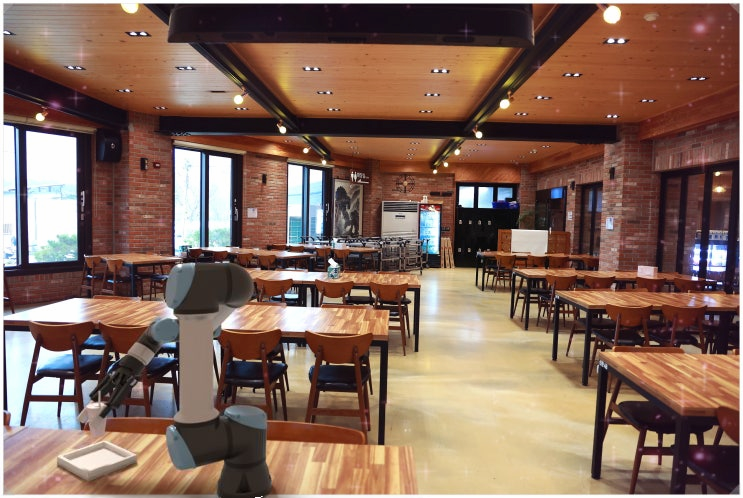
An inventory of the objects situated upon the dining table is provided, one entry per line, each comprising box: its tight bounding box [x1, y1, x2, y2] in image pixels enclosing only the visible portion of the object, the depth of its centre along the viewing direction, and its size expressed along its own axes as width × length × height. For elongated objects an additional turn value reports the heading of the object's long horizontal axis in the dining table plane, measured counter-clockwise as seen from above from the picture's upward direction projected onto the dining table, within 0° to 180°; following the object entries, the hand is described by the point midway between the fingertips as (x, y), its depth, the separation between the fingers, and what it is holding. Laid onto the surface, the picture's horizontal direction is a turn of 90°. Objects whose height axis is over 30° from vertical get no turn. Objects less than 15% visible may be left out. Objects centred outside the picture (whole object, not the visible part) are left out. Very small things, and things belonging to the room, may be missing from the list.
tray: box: [56, 440, 138, 482], centre depth 159 cm, size 18×15×2 cm
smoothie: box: [85, 391, 108, 439], centre depth 159 cm, size 6×6×14 cm
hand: (85, 423), depth 156 cm, fingers closed on smoothie, 6 cm apart
